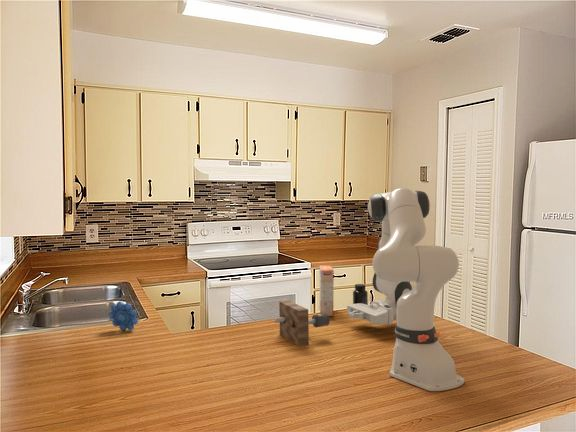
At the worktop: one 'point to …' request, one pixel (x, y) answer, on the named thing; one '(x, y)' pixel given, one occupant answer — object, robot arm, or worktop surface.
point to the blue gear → (123, 316)
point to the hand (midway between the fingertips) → (350, 315)
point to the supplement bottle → (360, 294)
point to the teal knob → (280, 319)
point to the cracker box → (326, 289)
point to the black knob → (319, 320)
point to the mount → (288, 328)
